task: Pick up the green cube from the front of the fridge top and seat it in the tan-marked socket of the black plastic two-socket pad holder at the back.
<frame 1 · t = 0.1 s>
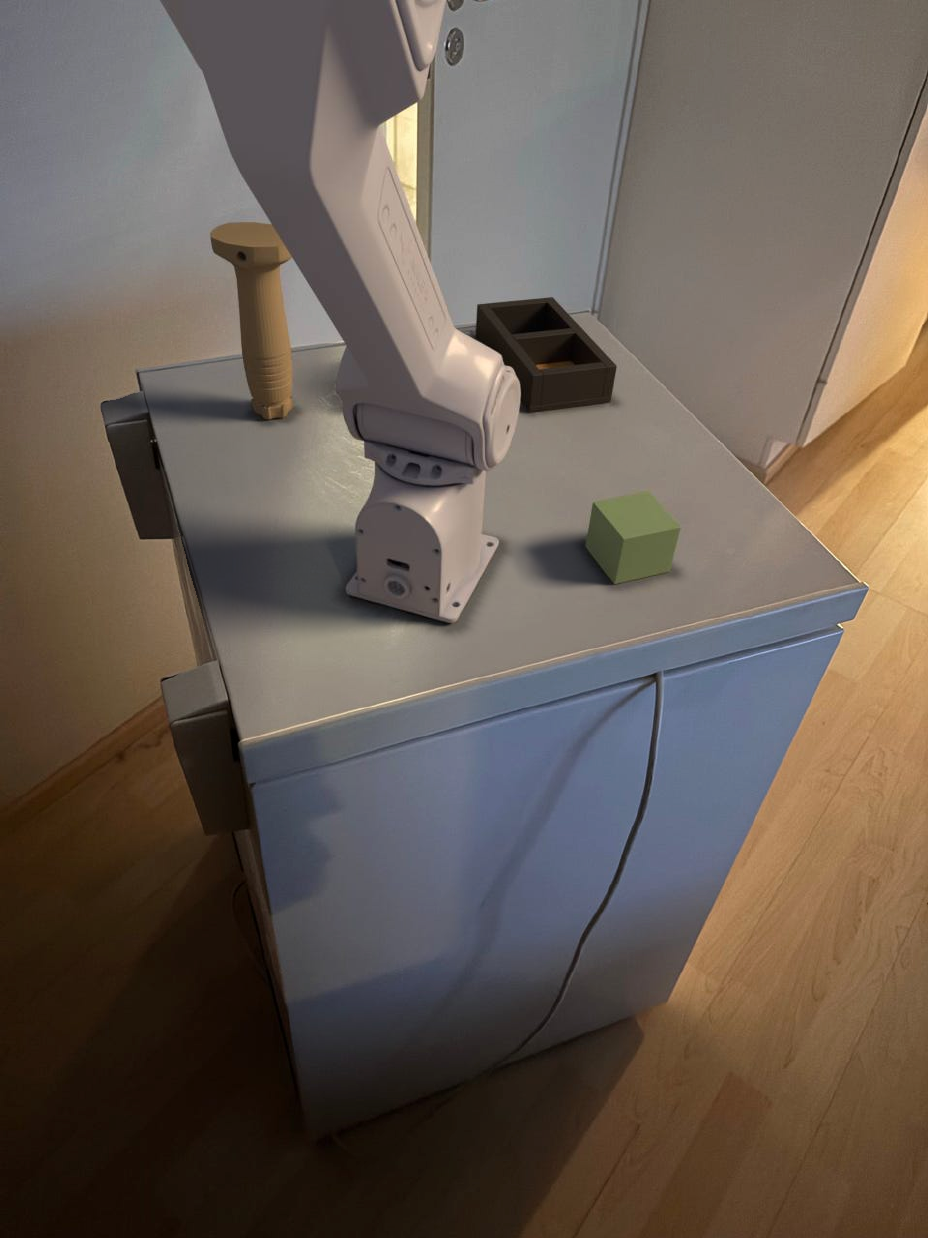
green cube: (626, 559, 64), on the table
video game controller: (394, 391, 81), on the table
pad holder: (539, 368, 85), on the table
handle: (273, 413, 77), on the table
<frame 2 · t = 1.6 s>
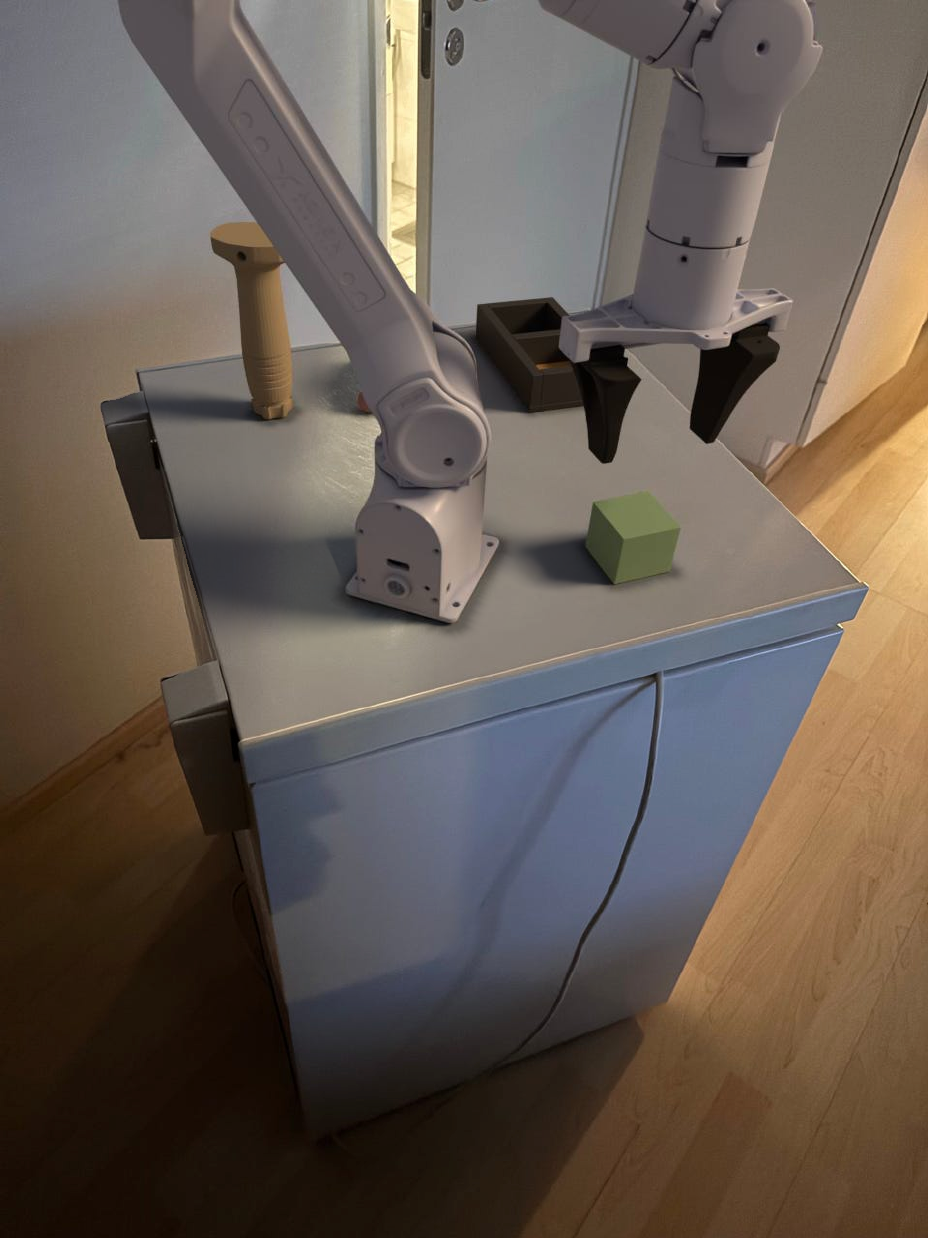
hand: (651, 445, 58), 9 cm above the table, tool pointing down, fingers open, 7 cm apart
nothing on the table moved.
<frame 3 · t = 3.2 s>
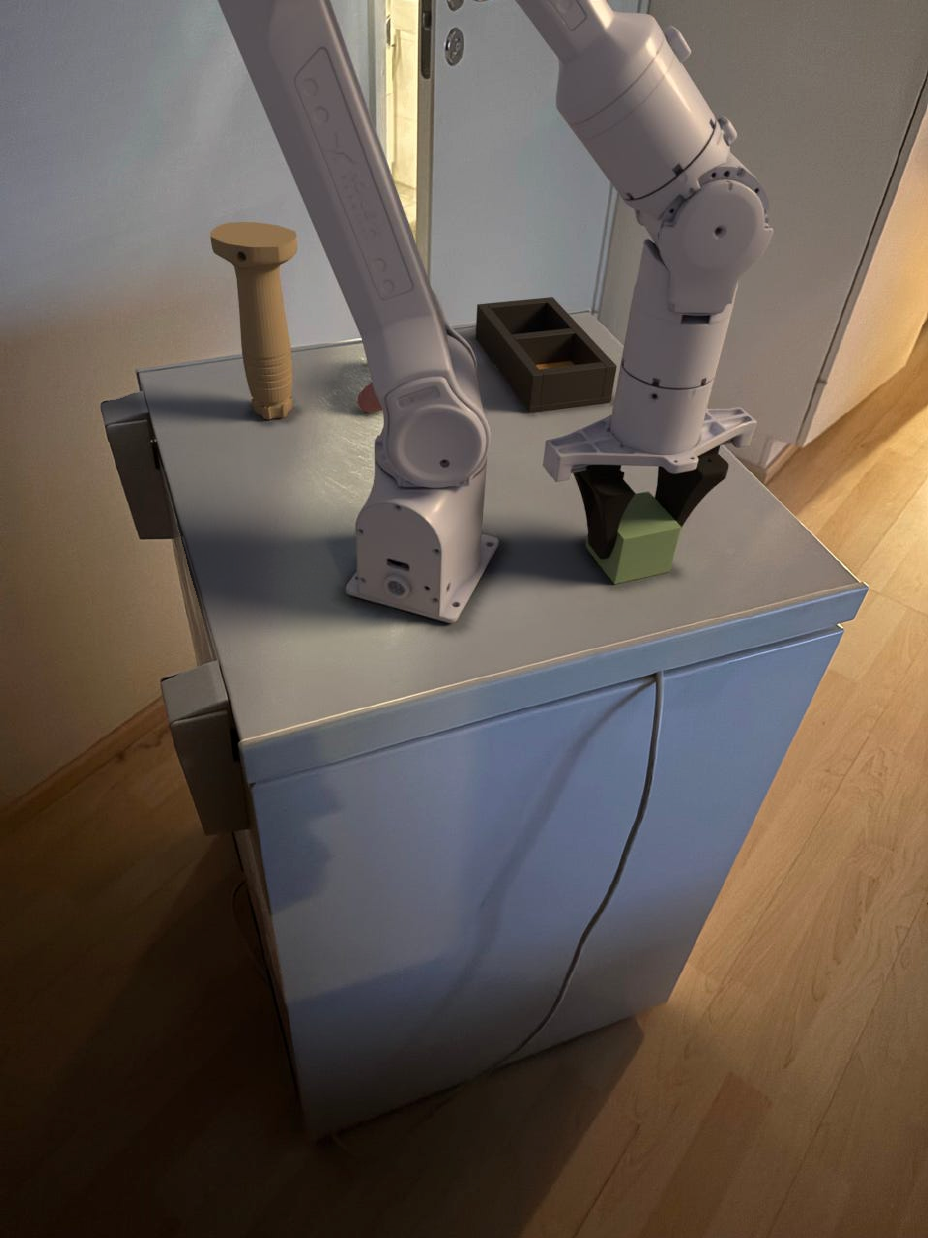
hand: (629, 543, 63), 1 cm above the table, tool pointing down, fingers closed on green cube, 4 cm apart
green cube: (626, 559, 64), on the table, touching gripper
everything else where it was.
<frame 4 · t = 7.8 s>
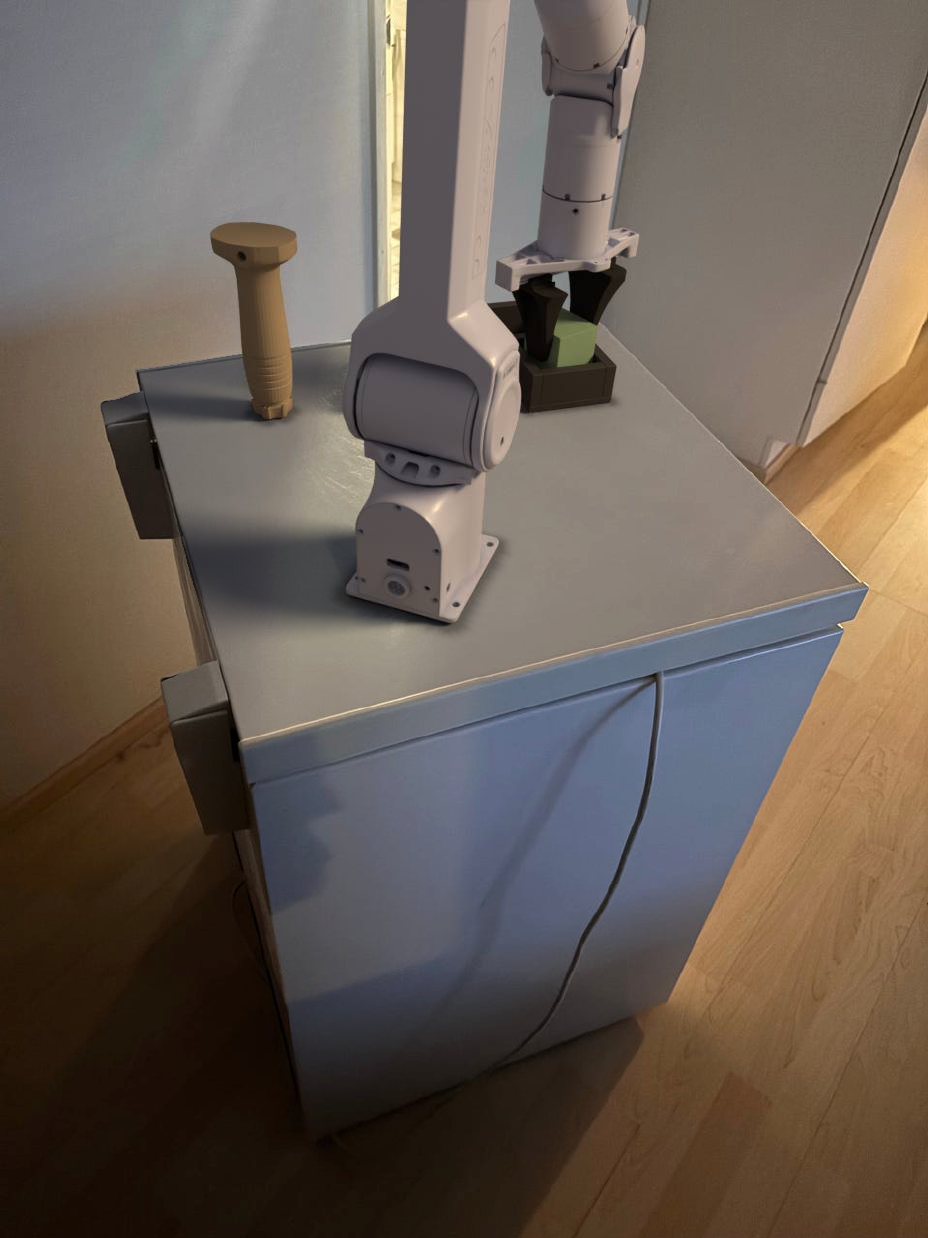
hand: (558, 350, 80), 4 cm above the table, tool pointing down, fingers closed on green cube, 4 cm apart
green cube: (556, 364, 81), point 2 cm above the table, touching gripper
everything else where it was.
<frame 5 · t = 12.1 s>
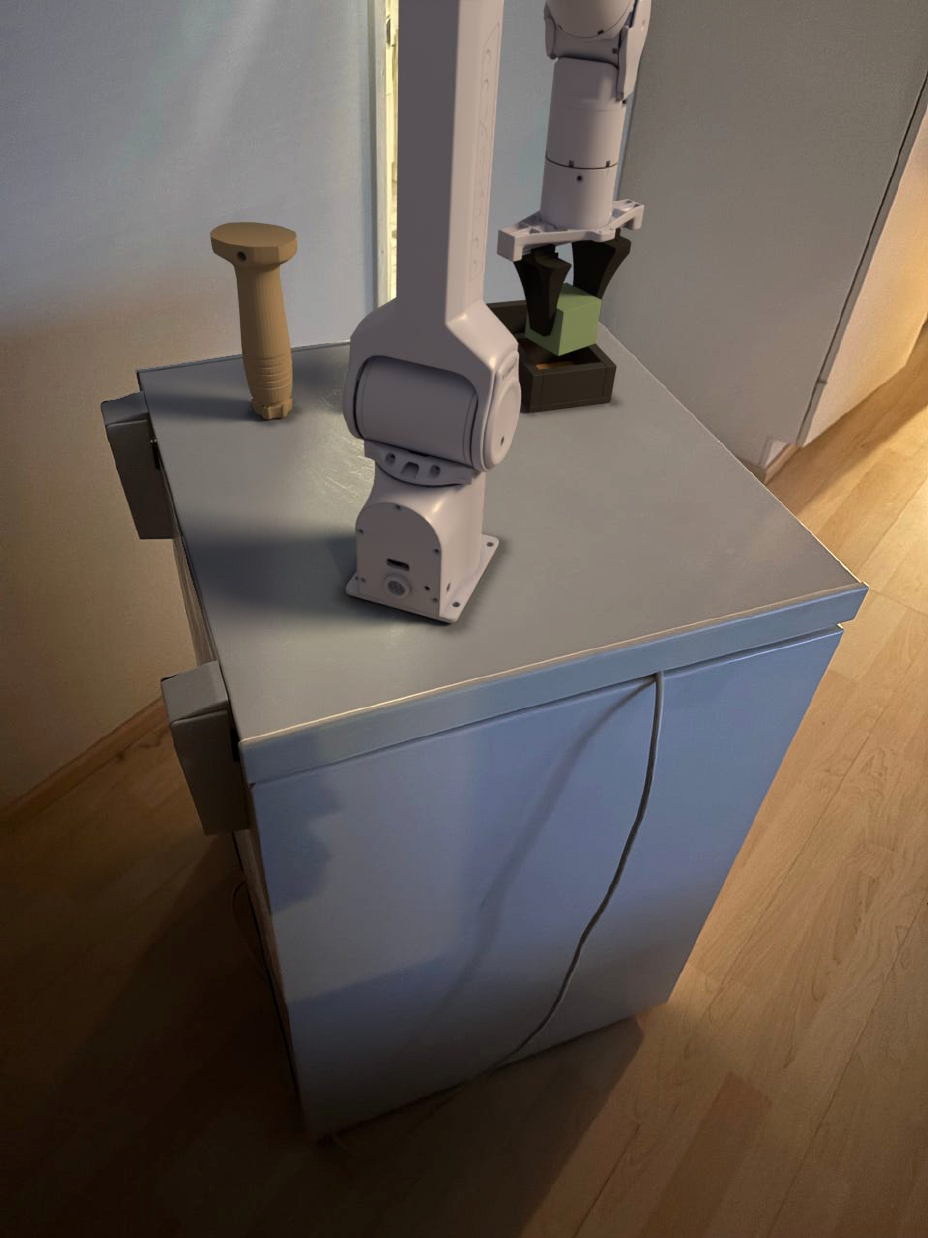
hand: (561, 325, 79), 6 cm above the table, tool pointing down, fingers closed on green cube, 4 cm apart
green cube: (559, 340, 80), point 5 cm above the table, touching gripper
everything else where it was.
when the fingers open (6 cm above the table, at t = 20.8 s): green cube drops 4 cm, resting on pad holder.
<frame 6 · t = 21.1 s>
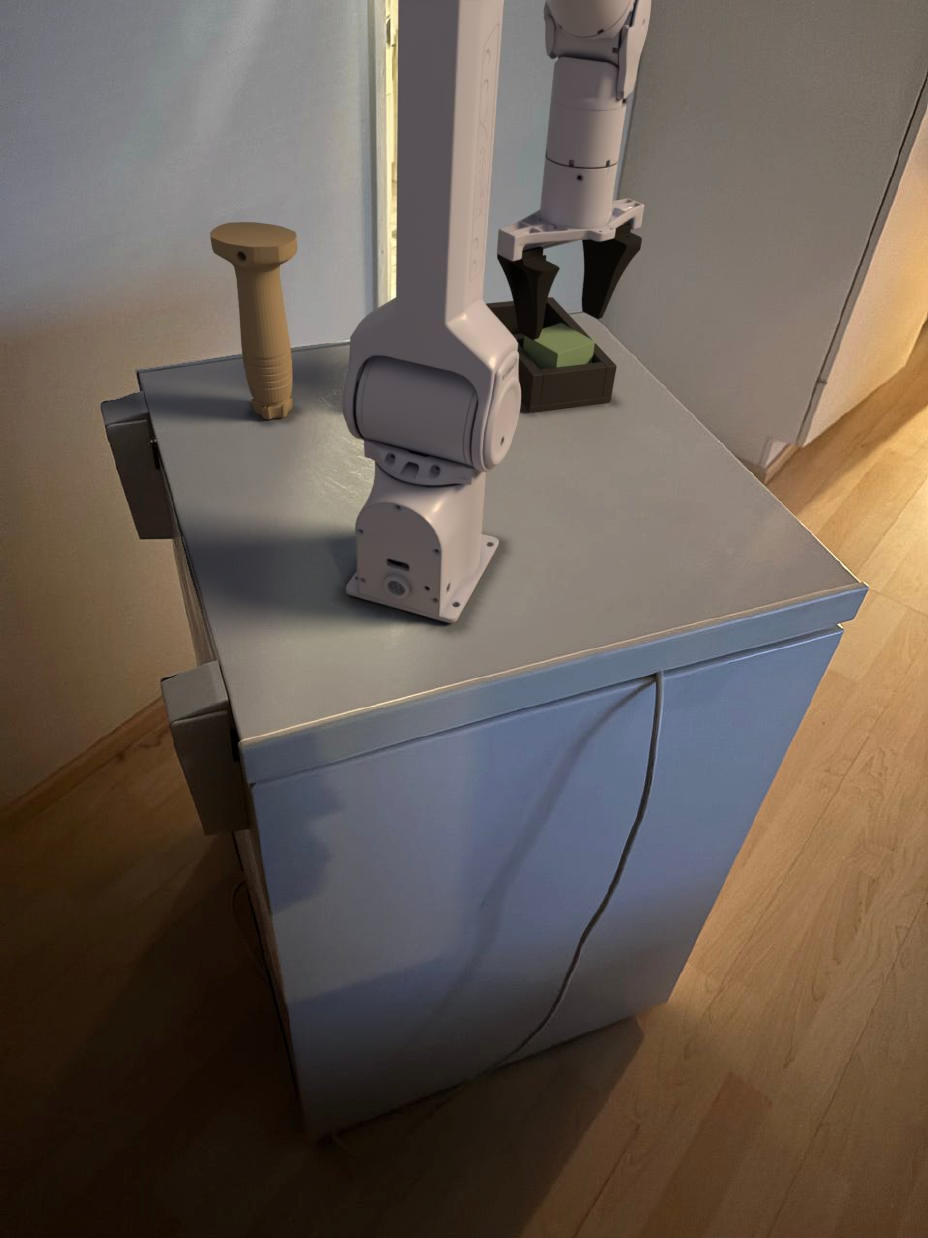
hand: (561, 324, 79), 6 cm above the table, tool pointing down, fingers open, 7 cm apart
green cube: (554, 378, 82), point 1 cm above the table, touching pad holder
everything else where it was.
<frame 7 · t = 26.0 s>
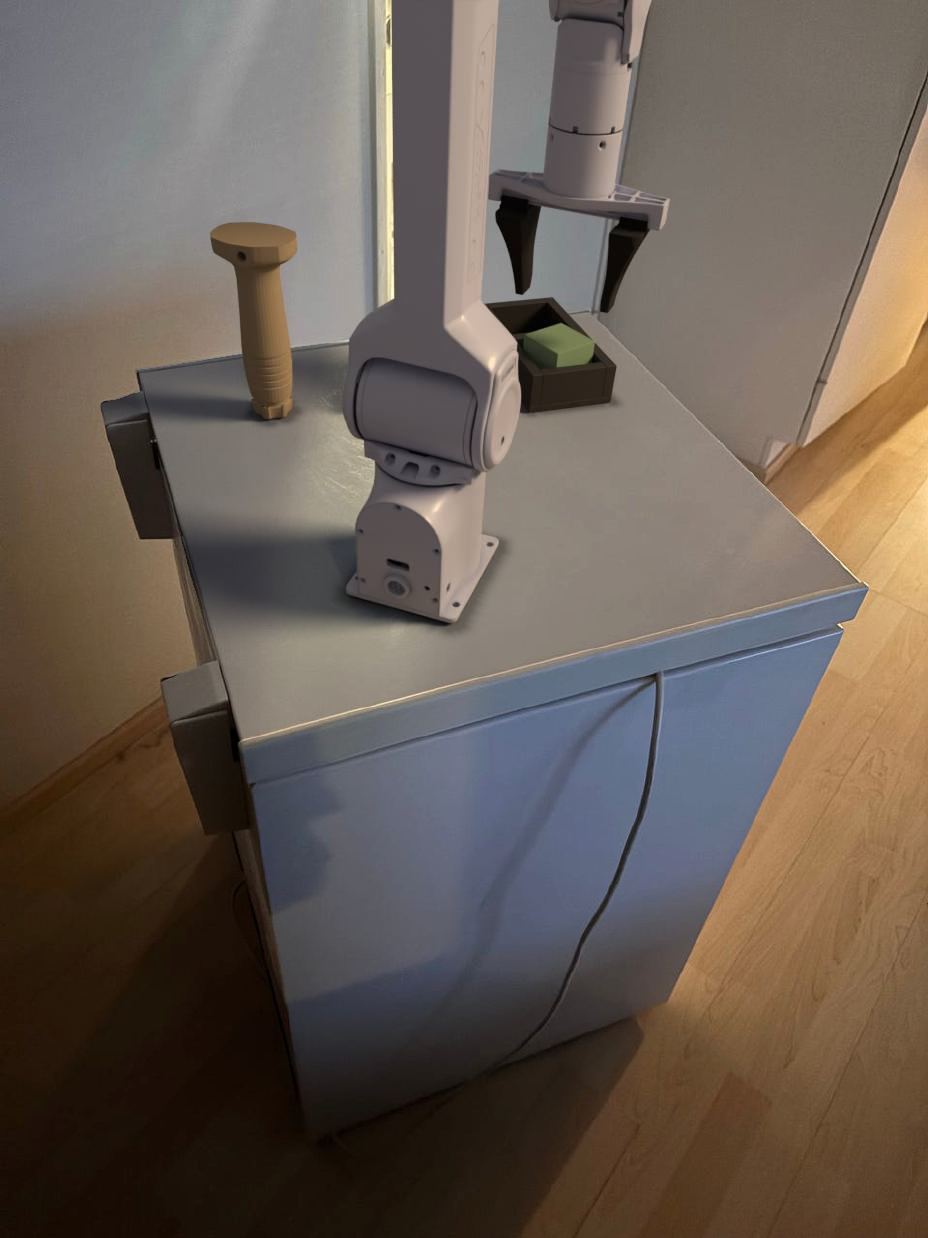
hand: (564, 299, 77), 8 cm above the table, tool pointing down, fingers open, 7 cm apart
nothing on the table moved.
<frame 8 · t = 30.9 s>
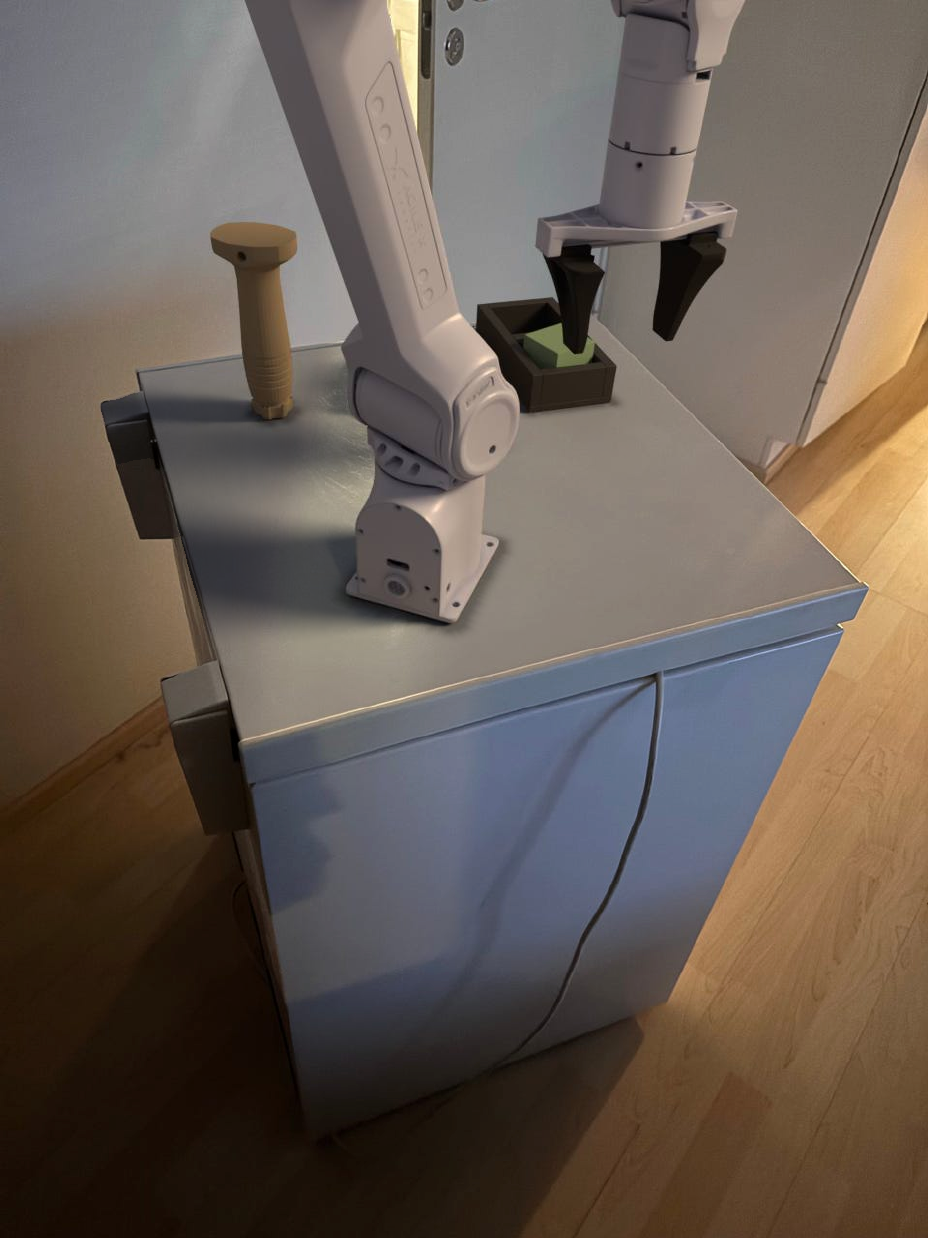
hand: (618, 341, 67), 10 cm above the table, tool pointing down, fingers open, 7 cm apart
nothing on the table moved.
at the end: green cube 0.1 cm from the target spot in the pad holder, point 0.8 cm above the pad holder's base; green cube tilted 0° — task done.
